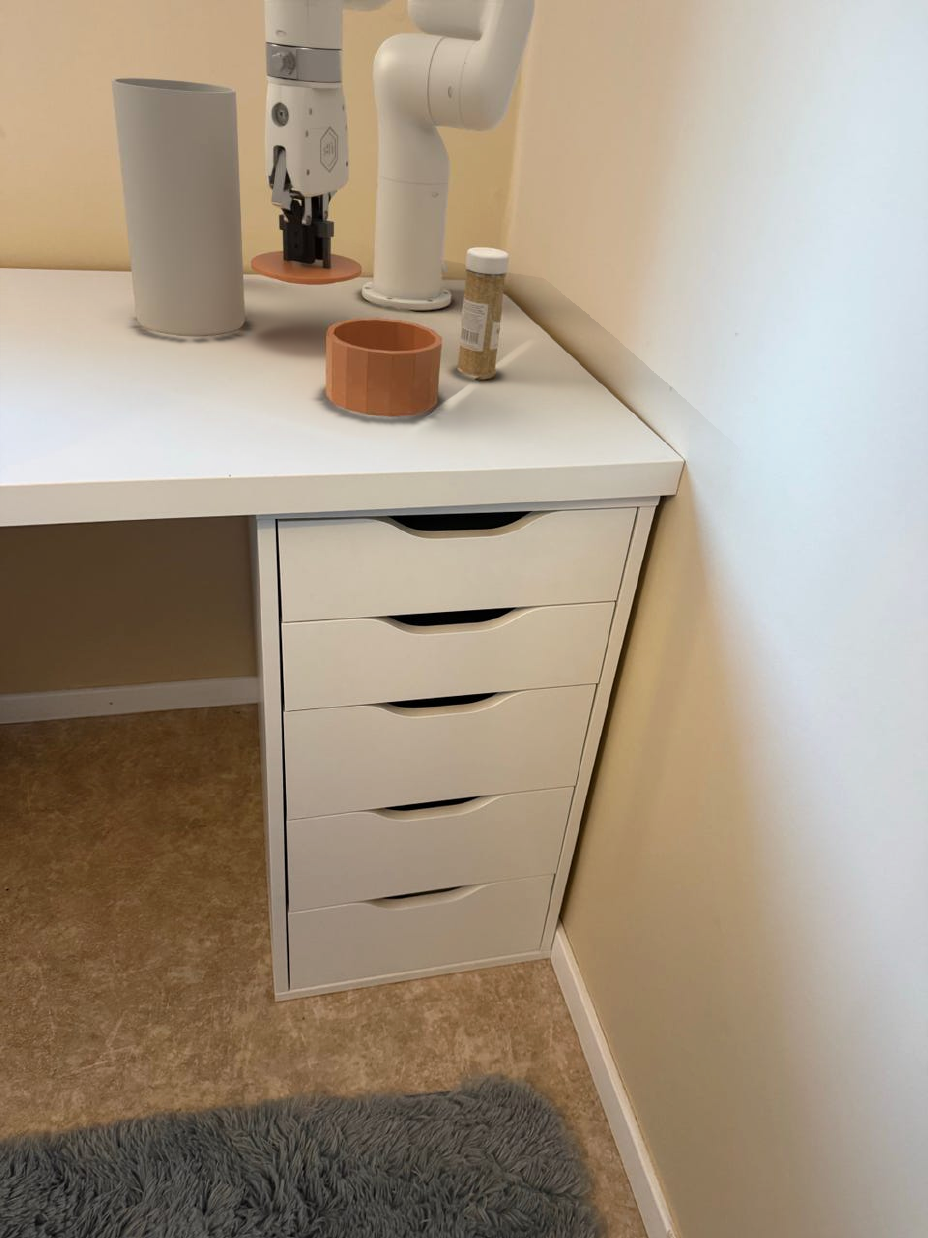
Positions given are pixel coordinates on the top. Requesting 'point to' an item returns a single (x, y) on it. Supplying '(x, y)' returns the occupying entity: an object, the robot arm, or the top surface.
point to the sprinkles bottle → (482, 311)
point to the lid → (309, 274)
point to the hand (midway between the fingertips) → (306, 258)
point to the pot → (382, 366)
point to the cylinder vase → (182, 203)
